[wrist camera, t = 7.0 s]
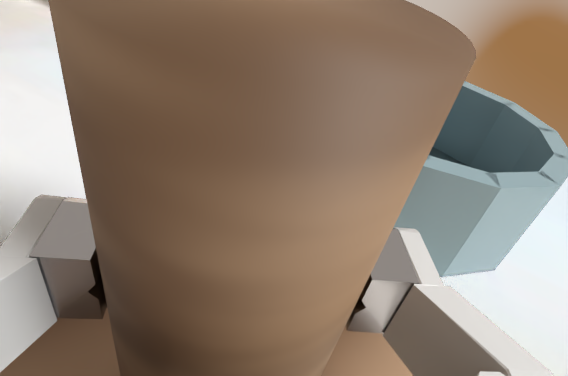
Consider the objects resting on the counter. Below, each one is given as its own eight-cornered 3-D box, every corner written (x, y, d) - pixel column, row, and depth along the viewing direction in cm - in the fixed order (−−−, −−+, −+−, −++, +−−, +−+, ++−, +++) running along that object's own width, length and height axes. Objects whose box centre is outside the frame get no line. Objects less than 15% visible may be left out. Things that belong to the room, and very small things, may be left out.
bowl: (270, 175, 22) (287, 87, 19) (381, 125, 30) (407, 55, 27) (458, 318, 17) (529, 229, 13) (536, 212, 24) (595, 137, 21)
